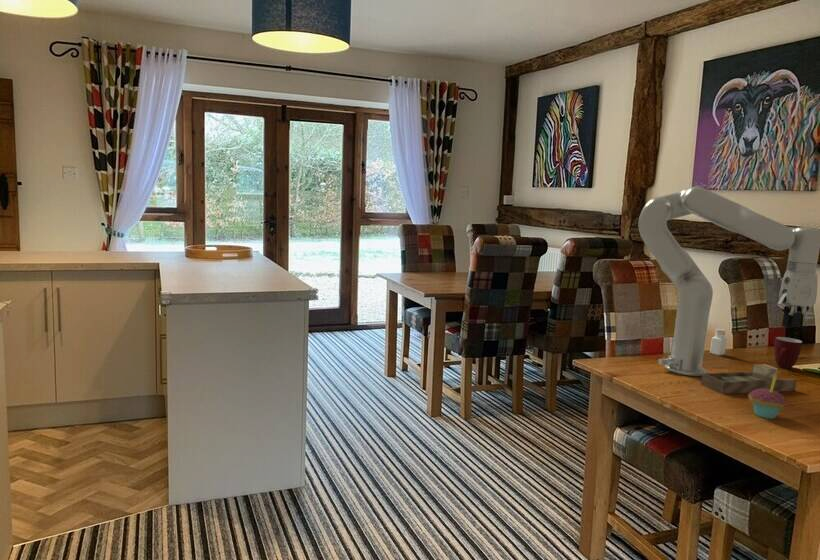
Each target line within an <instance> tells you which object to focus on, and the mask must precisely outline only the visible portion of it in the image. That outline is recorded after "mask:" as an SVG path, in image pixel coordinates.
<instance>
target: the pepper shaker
mask: <svg viewBox="0 0 820 560" xmlns="http://www.w3.org/2000/svg"><path fill="white" fill-rule="evenodd" d="M714 333H715V334H714V336H712V337H711V341H710V348H709V349H710V350H709V353H710V354H711V353H712V355H715V356H719V357H720V356H724V355H725V354H726V348H727V342H728V341H727V339H726V337H725V335H726V329H724V328H715V332H714Z"/></svg>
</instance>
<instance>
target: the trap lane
mask: <svg viewBox="0 0 820 560" xmlns="http://www.w3.org/2000/svg"><path fill="white" fill-rule="evenodd" d="M752 375H753V371H737V372H735V371H734V372H732V371H731V372H706V373H702V376H701V381H700V385H702V386H704V387H706V388H708V389H711V390H712V391H715V392H718V393H720V394H722V395H724V394H726V395H727V394H745V393H746V394H749V393H750V392H751V391H753V390H754V389H755V390H756V389H758V388H765V389H769V390H770V388H771V385H772V381H773V380H759V379H756V378H753V377H752ZM796 386H797V379H796V378H789V379H788V378H783V379H778V378H777V379H776V382H775V385H774V388H773V391H777V392H795V391H796Z"/></svg>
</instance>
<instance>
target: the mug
mask: <svg viewBox="0 0 820 560" xmlns="http://www.w3.org/2000/svg"><path fill="white" fill-rule="evenodd" d="M773 346H774V360H775V362H776V365H777V367H779V368H782V369H788V370H791V369H792V368H793V367H794V366H795V364H796V363H797V361H798V359H799V355H800V353H801V351H802V347H803V341H802V340H800V339H798V338H797V339H796V338H791V337H786V336H776V337H775V339H774V345H773ZM790 368H791V369H790Z"/></svg>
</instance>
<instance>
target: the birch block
mask: <svg viewBox="0 0 820 560" xmlns="http://www.w3.org/2000/svg"><path fill="white" fill-rule="evenodd" d="M778 370H779V368H776V367H774V366H771V365H768V364H764V363H763V364H760V363H759V364H753V370H752V372H753V375H752V377H753V378H756V379H759V380H773V378H774V377H775V375H776V374H777V375H778ZM777 375H776V377H778V376H777Z"/></svg>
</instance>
